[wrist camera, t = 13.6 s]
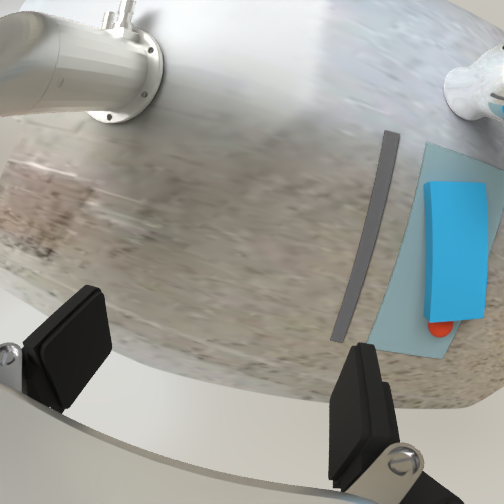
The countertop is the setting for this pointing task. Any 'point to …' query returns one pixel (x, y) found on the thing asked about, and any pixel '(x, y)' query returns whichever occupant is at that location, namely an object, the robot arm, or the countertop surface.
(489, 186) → the mat
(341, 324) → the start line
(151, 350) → the countertop surface
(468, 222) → the lever
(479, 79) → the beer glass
